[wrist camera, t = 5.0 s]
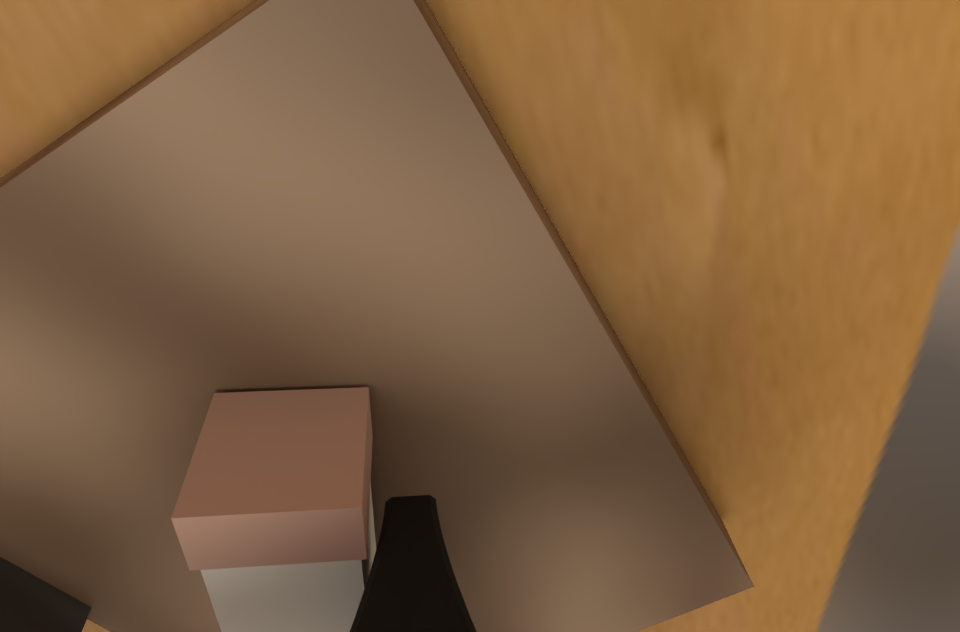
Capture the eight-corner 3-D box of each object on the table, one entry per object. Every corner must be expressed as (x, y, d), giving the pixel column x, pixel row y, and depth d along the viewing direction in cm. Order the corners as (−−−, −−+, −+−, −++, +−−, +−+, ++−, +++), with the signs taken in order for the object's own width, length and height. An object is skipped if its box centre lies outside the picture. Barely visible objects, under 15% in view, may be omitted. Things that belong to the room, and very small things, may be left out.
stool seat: (314, 688, 21) (296, 877, 17) (-242, 348, 12) (-543, 581, 8) (721, 520, 18) (810, 703, 14) (377, -85, 9) (360, -39, 5)
